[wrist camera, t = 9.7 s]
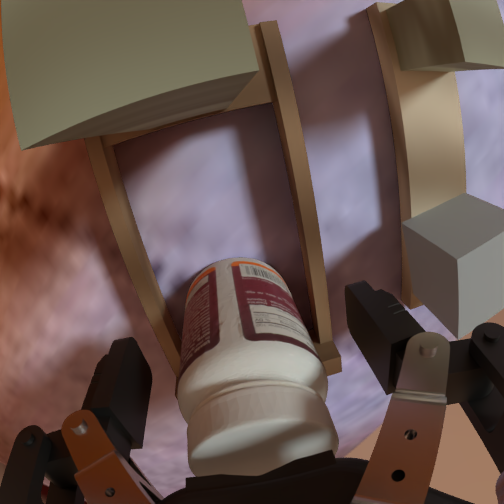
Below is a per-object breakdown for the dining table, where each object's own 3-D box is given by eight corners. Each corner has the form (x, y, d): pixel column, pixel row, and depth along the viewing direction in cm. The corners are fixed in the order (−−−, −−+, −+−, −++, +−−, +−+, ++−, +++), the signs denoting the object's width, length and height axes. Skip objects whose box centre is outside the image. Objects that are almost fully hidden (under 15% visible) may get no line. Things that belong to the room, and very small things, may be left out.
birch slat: (365, 8, 10) (431, -29, 5) (427, 13, 10) (498, -8, 6) (401, 300, 16) (452, 356, 11) (450, 281, 16) (504, 328, 11)
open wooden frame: (82, 81, 10) (-95, 52, 2) (270, 29, 10) (376, -107, 2) (184, 374, 16) (180, 537, 7) (326, 340, 16) (397, 491, 8)
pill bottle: (209, 353, 16) (215, 506, 8) (169, 274, 14) (136, 436, 6) (299, 325, 16) (358, 470, 8) (274, 239, 14) (344, 382, 6)
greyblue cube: (401, 222, 13) (457, 259, 9) (464, 192, 13) (523, 218, 9) (413, 293, 15) (457, 339, 11) (470, 261, 14) (518, 296, 11)
